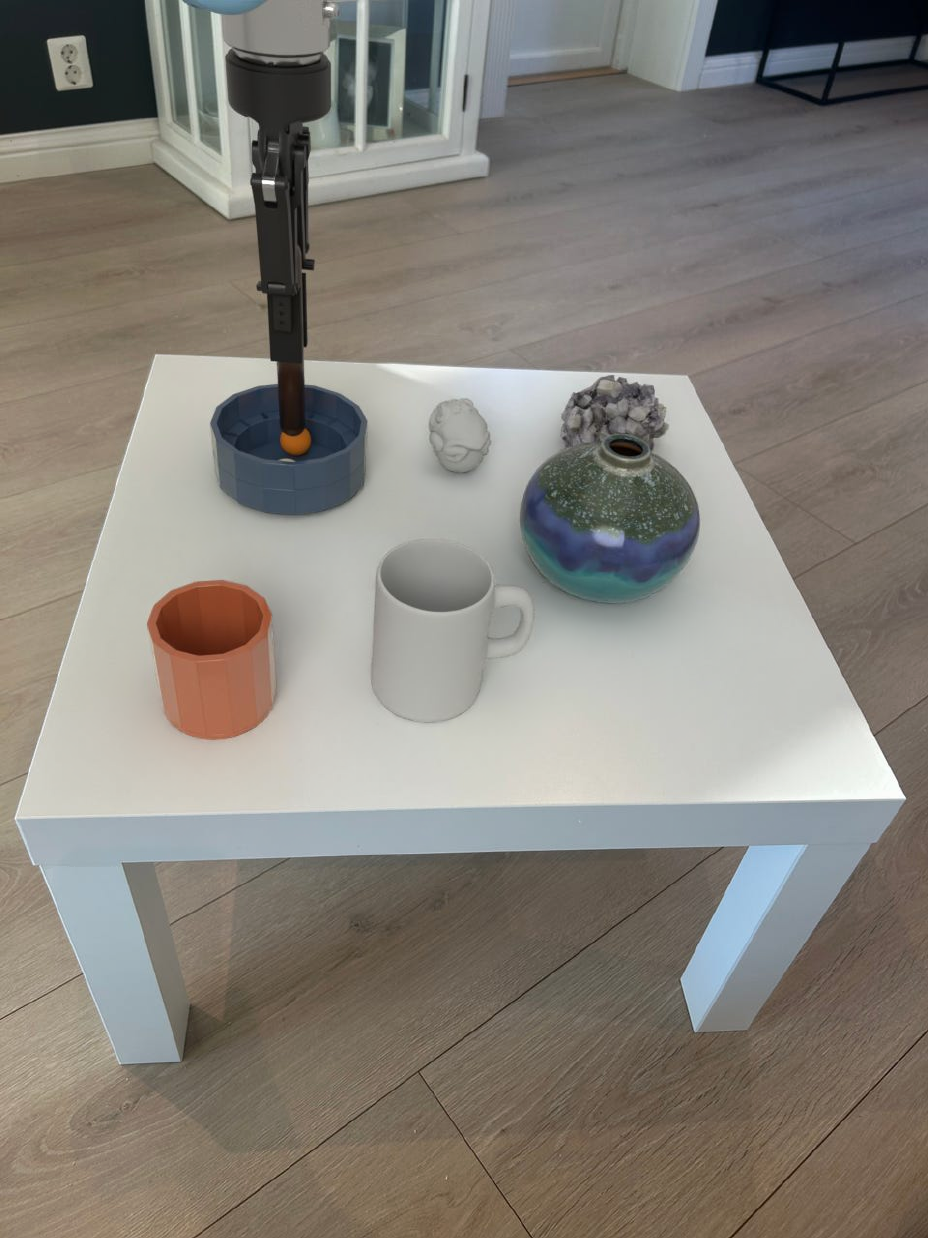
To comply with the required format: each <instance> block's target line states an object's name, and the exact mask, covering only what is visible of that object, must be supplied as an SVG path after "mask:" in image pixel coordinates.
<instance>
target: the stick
mask: <svg viewBox="0 0 928 1238" xmlns="http://www.w3.org/2000/svg"><path fill="white" fill-rule="evenodd" d="M297 262H298V284H299V288H301V309H302V346H303V361H302V364H297V363H286V362H276V374H277V376H276V377H277V384H278V400H279V421H280V428H281V430H282V431H283V432H284V433H285V434H286V435H288V436H292V437H294V436H298V435H300V434H301V433H302V432H303V431H304V429H305V425H306V416H305V385H306V383H305V382H306V380H305V347H304V339H303V300H302V273H303V270H302V261H301V250H300V248H299V246H298V244H297Z"/></svg>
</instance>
